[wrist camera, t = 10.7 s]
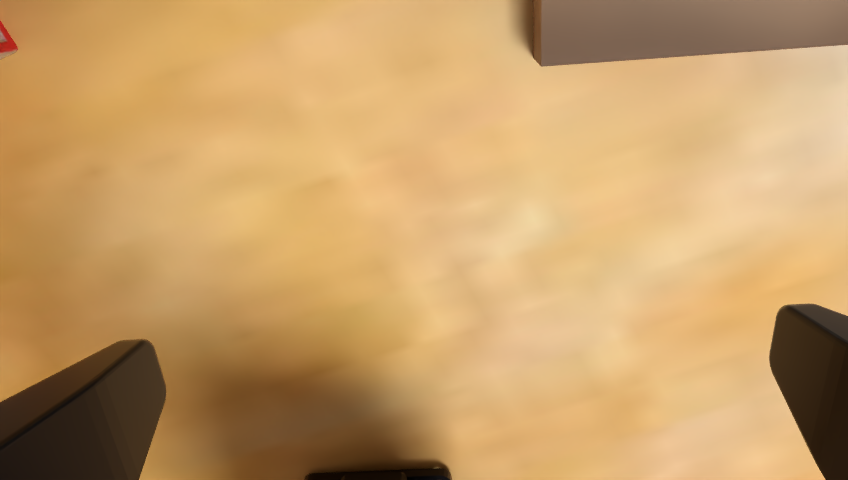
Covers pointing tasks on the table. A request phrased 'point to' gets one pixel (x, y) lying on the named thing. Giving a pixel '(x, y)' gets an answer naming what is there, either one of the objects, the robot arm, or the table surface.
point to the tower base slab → (680, 28)
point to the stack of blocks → (6, 43)
